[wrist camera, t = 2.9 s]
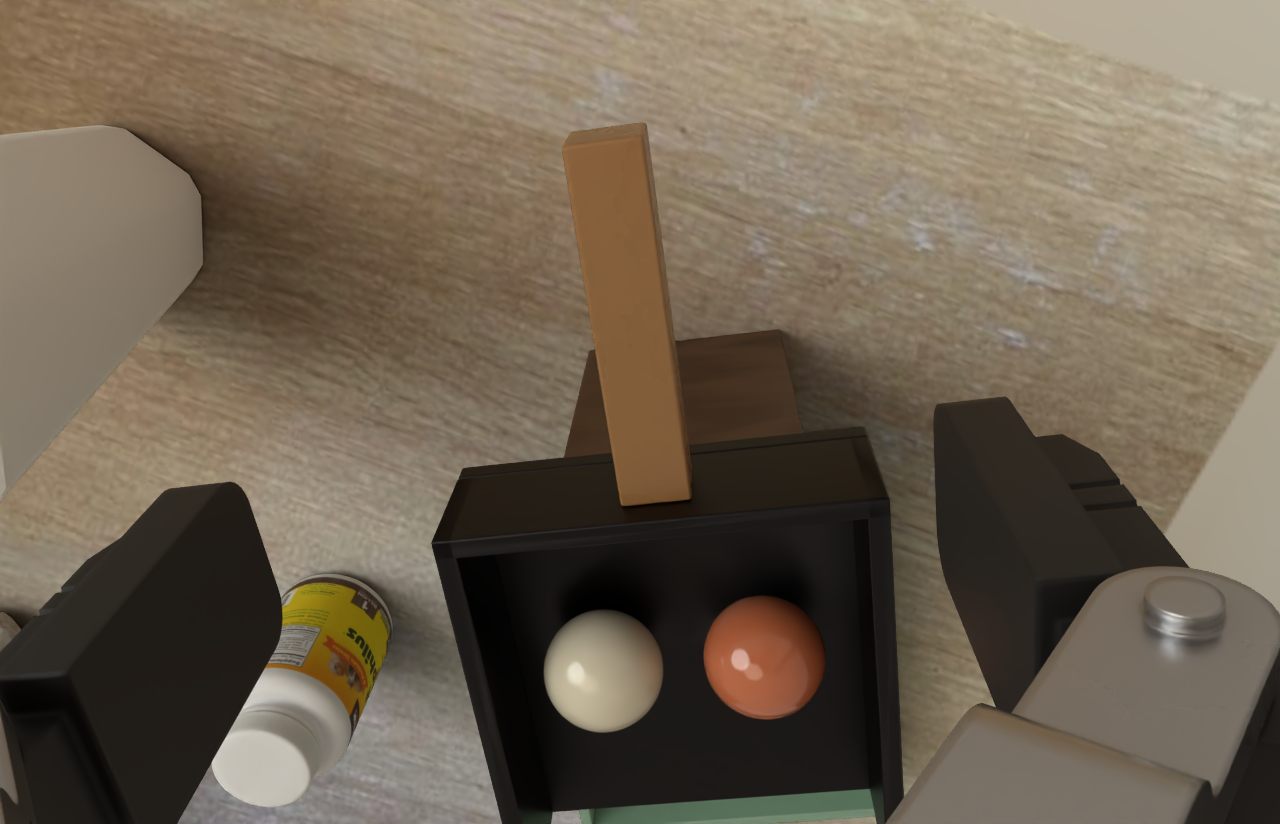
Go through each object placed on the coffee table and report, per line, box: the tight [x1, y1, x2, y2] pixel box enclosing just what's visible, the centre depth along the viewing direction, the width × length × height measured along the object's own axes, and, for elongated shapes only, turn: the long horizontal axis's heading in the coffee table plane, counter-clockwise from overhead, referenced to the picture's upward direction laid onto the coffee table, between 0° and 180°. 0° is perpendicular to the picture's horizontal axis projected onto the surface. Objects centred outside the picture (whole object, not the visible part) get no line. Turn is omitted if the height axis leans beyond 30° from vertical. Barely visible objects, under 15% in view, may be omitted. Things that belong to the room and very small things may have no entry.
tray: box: [579, 789, 875, 824], centre depth 48 cm, size 15×17×4 cm
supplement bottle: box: [212, 574, 393, 807], centre depth 46 cm, size 6×6×10 cm
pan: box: [431, 122, 904, 824], centre depth 25 cm, size 10×19×4 cm, turn 8°
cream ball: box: [543, 609, 664, 733], centre depth 26 cm, size 3×3×3 cm
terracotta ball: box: [703, 595, 826, 720], centre depth 26 cm, size 3×3×3 cm
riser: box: [564, 330, 803, 458], centre depth 37 cm, size 8×4×18 cm, turn 98°
